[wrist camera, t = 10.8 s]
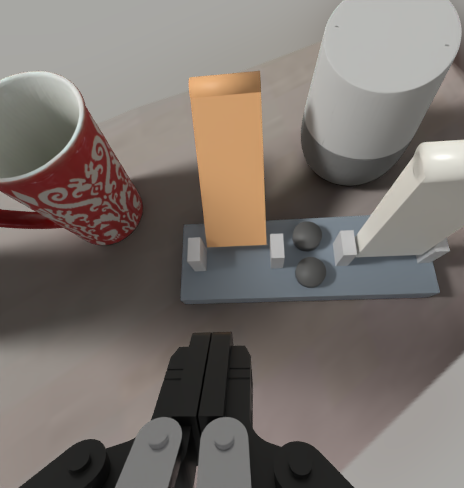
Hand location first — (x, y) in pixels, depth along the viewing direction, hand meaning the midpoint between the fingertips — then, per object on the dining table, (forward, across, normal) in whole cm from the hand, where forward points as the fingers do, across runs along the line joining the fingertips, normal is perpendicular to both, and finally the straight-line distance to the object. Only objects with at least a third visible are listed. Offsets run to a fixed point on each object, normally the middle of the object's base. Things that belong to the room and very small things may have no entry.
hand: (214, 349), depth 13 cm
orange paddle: (+15, 0, +3) cm, 16 cm away
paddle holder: (+17, -6, +6) cm, 19 cm away
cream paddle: (+14, -12, +3) cm, 19 cm away
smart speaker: (+25, -11, -2) cm, 27 cm away
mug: (+21, +15, +2) cm, 26 cm away
